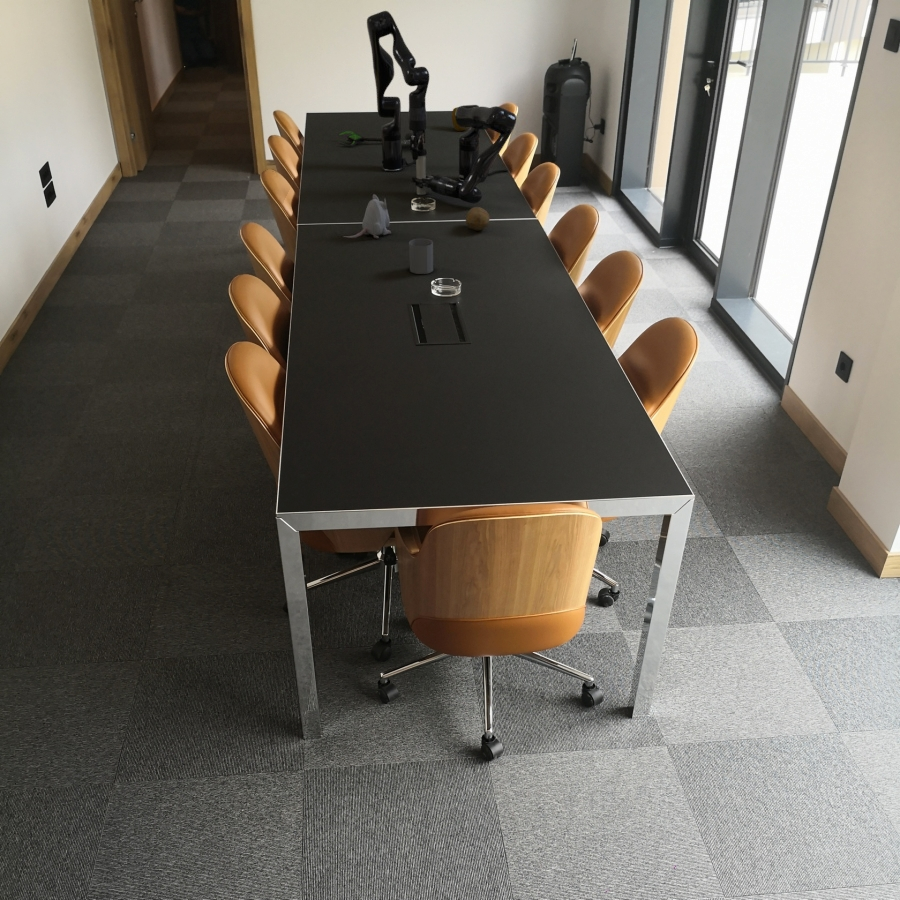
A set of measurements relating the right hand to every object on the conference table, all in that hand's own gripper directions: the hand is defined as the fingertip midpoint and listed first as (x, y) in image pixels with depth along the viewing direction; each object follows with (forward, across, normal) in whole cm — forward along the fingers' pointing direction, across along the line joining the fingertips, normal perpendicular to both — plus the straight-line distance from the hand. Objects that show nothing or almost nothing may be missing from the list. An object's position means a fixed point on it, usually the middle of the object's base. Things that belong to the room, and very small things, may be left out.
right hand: (417, 178), depth 386 cm
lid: (-3, 0, -12) cm, 13 cm away
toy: (-33, +56, +6) cm, 65 cm away
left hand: (-2, +1, -10) cm, 10 cm away
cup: (-72, +63, +6) cm, 96 cm away
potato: (-55, +17, +6) cm, 58 cm away
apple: (+72, -99, +6) cm, 123 cm away
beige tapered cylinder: (-3, 0, +6) cm, 7 cm away
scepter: (+84, -39, +6) cm, 93 cm away
